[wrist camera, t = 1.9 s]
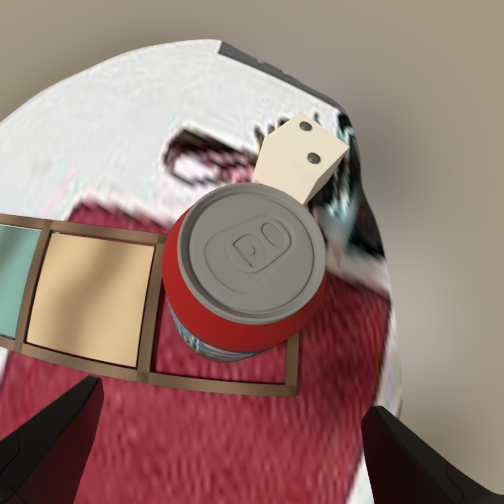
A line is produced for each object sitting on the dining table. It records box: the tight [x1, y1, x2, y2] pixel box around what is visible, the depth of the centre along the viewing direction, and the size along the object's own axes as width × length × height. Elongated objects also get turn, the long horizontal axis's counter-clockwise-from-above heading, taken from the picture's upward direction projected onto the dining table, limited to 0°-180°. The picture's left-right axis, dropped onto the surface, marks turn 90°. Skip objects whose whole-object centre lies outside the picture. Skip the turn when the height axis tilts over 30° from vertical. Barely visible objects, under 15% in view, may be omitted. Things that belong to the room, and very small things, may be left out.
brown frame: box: [0, 214, 299, 397], centre depth 20 cm, size 31×11×1 cm, turn 86°
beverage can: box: [161, 183, 327, 363], centre depth 17 cm, size 7×7×12 cm
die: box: [253, 112, 349, 206], centre depth 25 cm, size 5×5×5 cm
